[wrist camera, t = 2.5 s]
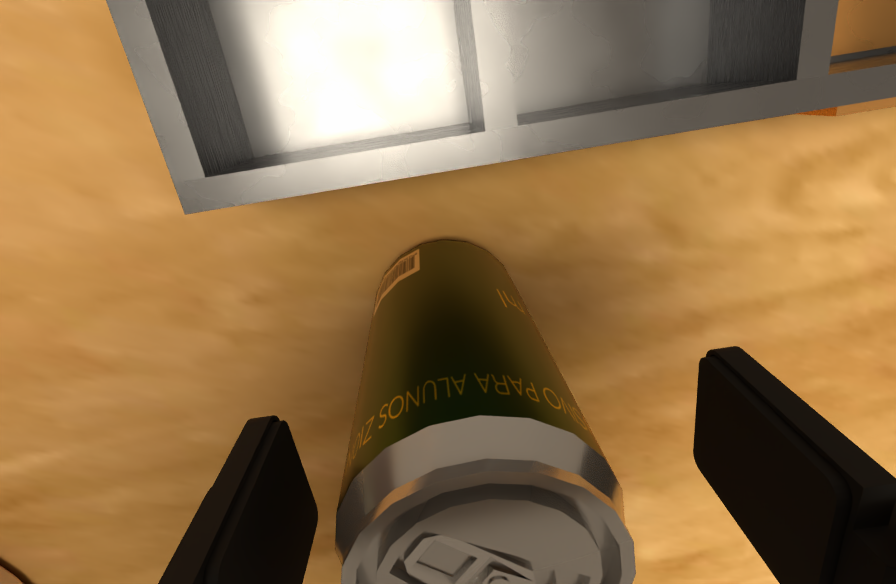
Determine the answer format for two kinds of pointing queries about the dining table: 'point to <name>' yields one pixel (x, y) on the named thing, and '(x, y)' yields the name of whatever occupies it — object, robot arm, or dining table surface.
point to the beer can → (471, 442)
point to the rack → (474, 80)
